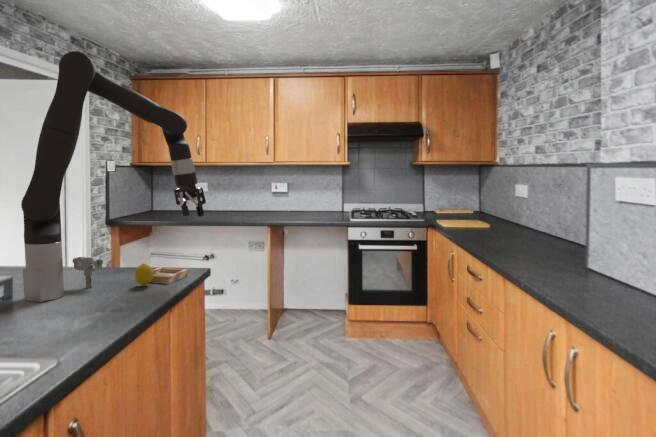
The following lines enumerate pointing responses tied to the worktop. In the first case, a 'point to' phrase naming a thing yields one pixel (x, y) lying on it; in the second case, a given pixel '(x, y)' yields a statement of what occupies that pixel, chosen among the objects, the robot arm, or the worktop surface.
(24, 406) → the worktop surface
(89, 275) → the mechanical component
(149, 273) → the lemon
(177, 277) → the tray
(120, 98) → the robot arm
